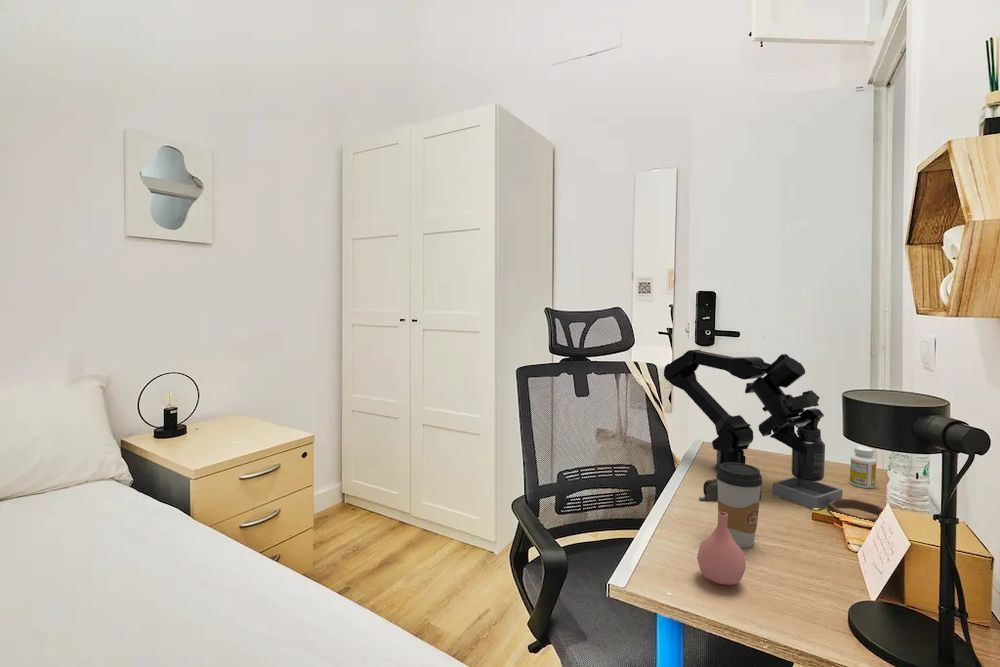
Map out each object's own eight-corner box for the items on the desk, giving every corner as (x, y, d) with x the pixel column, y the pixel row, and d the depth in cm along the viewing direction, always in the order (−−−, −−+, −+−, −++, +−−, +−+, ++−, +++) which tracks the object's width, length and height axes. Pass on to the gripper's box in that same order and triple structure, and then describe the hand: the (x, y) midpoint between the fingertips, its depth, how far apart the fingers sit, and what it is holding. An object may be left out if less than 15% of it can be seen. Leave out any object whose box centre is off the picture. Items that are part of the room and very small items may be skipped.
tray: (772, 494, 123) (772, 482, 123) (797, 486, 128) (798, 475, 128) (816, 510, 114) (816, 498, 114) (842, 501, 119) (842, 489, 119)
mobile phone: (757, 478, 121) (697, 477, 121) (764, 483, 118) (702, 481, 118) (756, 498, 122) (696, 497, 122) (763, 503, 119) (701, 502, 119)
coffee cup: (741, 555, 94) (744, 478, 93) (705, 536, 101) (707, 465, 100) (769, 545, 98) (772, 471, 97) (732, 527, 105) (734, 459, 104)
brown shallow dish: (847, 526, 106) (847, 518, 106) (820, 505, 117) (820, 497, 117) (901, 529, 105) (901, 520, 105) (869, 507, 116) (869, 500, 116)
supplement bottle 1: (819, 473, 123) (822, 426, 122) (827, 483, 117) (830, 433, 116) (787, 470, 125) (790, 423, 124) (794, 479, 119) (796, 430, 118)
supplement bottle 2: (866, 481, 132) (868, 445, 132) (879, 489, 127) (882, 452, 126) (845, 480, 133) (847, 445, 132) (857, 488, 127) (859, 451, 127)
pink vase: (754, 584, 84) (757, 516, 84) (728, 599, 80) (730, 528, 79) (713, 564, 91) (715, 500, 90) (687, 576, 87) (689, 510, 86)
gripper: (772, 382, 118) (817, 440, 109) (818, 377, 127) (863, 430, 118) (741, 408, 126) (781, 464, 117) (786, 401, 134) (826, 452, 126)
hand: (814, 452), depth 119 cm, fingers closed on supplement bottle 1, 7 cm apart
